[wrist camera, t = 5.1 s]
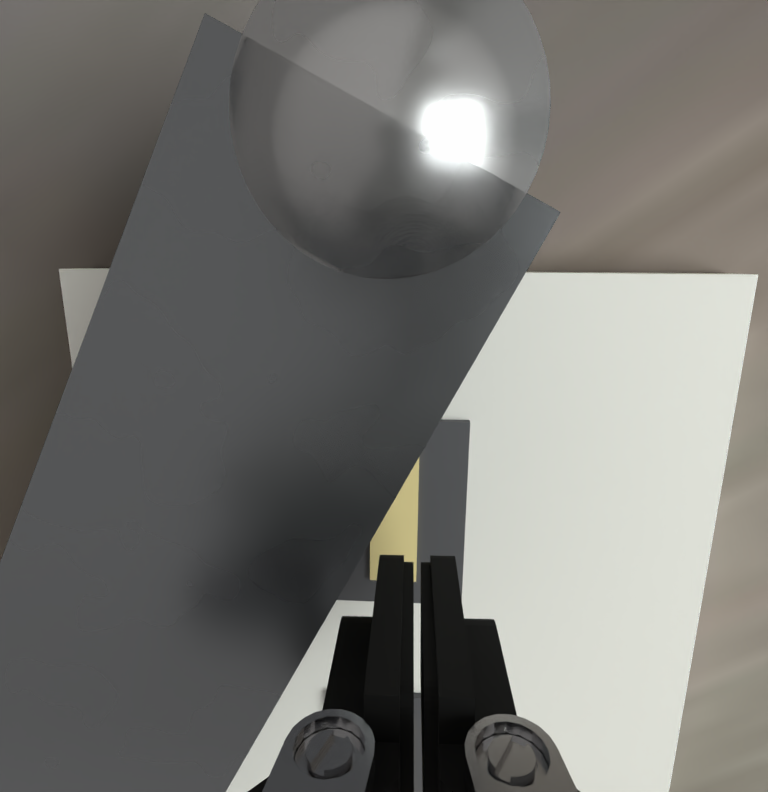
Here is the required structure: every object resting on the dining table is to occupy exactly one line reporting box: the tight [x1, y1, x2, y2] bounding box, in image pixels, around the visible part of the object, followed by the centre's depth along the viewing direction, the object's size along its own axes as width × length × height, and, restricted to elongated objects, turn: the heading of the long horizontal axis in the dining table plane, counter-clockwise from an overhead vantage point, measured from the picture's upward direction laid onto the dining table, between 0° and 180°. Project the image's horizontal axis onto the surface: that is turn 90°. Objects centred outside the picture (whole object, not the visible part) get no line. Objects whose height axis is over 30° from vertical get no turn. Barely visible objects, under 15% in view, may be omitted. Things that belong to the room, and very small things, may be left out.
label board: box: [59, 268, 758, 792], centre depth 14 cm, size 23×16×2 cm
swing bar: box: [0, 0, 560, 792], centre depth 11 cm, size 24×5×4 cm, turn 152°
